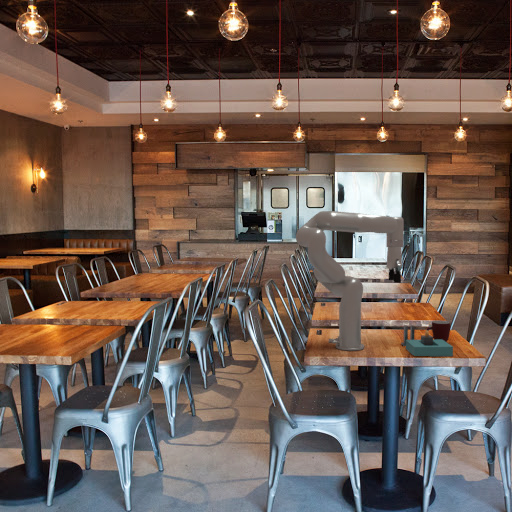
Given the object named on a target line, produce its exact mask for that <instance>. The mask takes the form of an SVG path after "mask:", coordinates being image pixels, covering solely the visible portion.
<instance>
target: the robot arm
mask: <svg viewBox="0 0 512 512" xmlns="http://www.w3.org/2000/svg"><path fill="white" fill-rule="evenodd" d="M404 221H405V220H404V218H403V217H401V216H387V215H374V214H367V213H366V214H365V213H360V212H358V213H357V212H349V211H337V210H322V211H319V212H318V213H316V214H315V215H313V216H312V217H311V218H310V219H309V220H308V221H307V222H305V223H304V224H303V225H302V226H301V227H299V229H298V230H297V231H296V235H295V241H296V243H297V244H298V245H299V246H301V247H305V248H307V257H308V262H309V263H310V265H311V266H312V267H313V274H314V277H315V279H316V280H317V281H318V282H319V283H320V284H321V285H323V287H325V288H326V290H328V291H329V292H330V293H332V294H333V295H334V296H337V297H341V299H340V302H339V305H338V307H339V308H338V314H339V315H338V317H339V318H338V320H339V321H338V323H339V324H338V328H339V329H338V332H339V333H338V336H337V337H336V338H328V344H335V348H336V349H337V350H341V351H352V352H353V351H360V350H361V351H362V350H364V349H365V345H364V344H363V343H362V299H363V293H364V285H363V283H362V280H360V279H359V278H357V277H355V276H349V275H346V272H345V271H346V270H345V269H344V267H343V266H342V265H341V264H340V263H339V262H338V261H336V260H335V259H334V258H333V257H332V256H331V255H330V254H329V253H328V251H327V249H326V246H327V245H326V243H327V236H326V233H325V231H333V232H346V233H360V234H361V233H376V234H386V248H387V252H386V253H387V254H386V268H387V269H388V280H389V281H393V283H395V284H398V283H399V284H400V283H402V267H403V266H402V265H403V264H402V263H403V255H402V248H404V233H405V231H404V229H405V228H404V227H405V226H404V223H405V222H404Z"/></svg>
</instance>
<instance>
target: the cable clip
mask: <svg viewBox="0 0 512 512" xmlns="http://www.w3.org/2000/svg"><path fill="white" fill-rule="evenodd" d="M408 327H409V326H408V325H405V324H404V325H403V342H400V344H401V346H402V345H403V346H406V340H415V325H413V324H411V325H410V330H409V328H408ZM409 332H410V335H409ZM408 335H409V336H408ZM408 337H410V339H409V338H408ZM403 346H402V347H403Z"/></svg>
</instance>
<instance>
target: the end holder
mask: <svg viewBox="0 0 512 512" xmlns="http://www.w3.org/2000/svg"><path fill="white" fill-rule="evenodd" d="M405 350H406V351H408V352H409V353H410V354H411V355H412V356H413V355H414V356H430V357H453V356H454V353H453V352H454V346H453V345H451V344H449V343H448V341H447V342H445V341H444V340H442V339H436V340H434V339H433V346H425V345H423V344H422V343H421V339H414V340H410V339H408V340H406V347H405ZM414 356H413V357H414Z"/></svg>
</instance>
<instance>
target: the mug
mask: <svg viewBox="0 0 512 512" xmlns="http://www.w3.org/2000/svg"><path fill="white" fill-rule="evenodd" d="M451 328H452V326H451V321H448V320H432V321H431V326H429V327H427V328H426V330H427V331H430V330H431V331H432V337H433V340H436V339H442V340H444V341H445V342H447V343H448V341H449V337H450V333H451Z"/></svg>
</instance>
